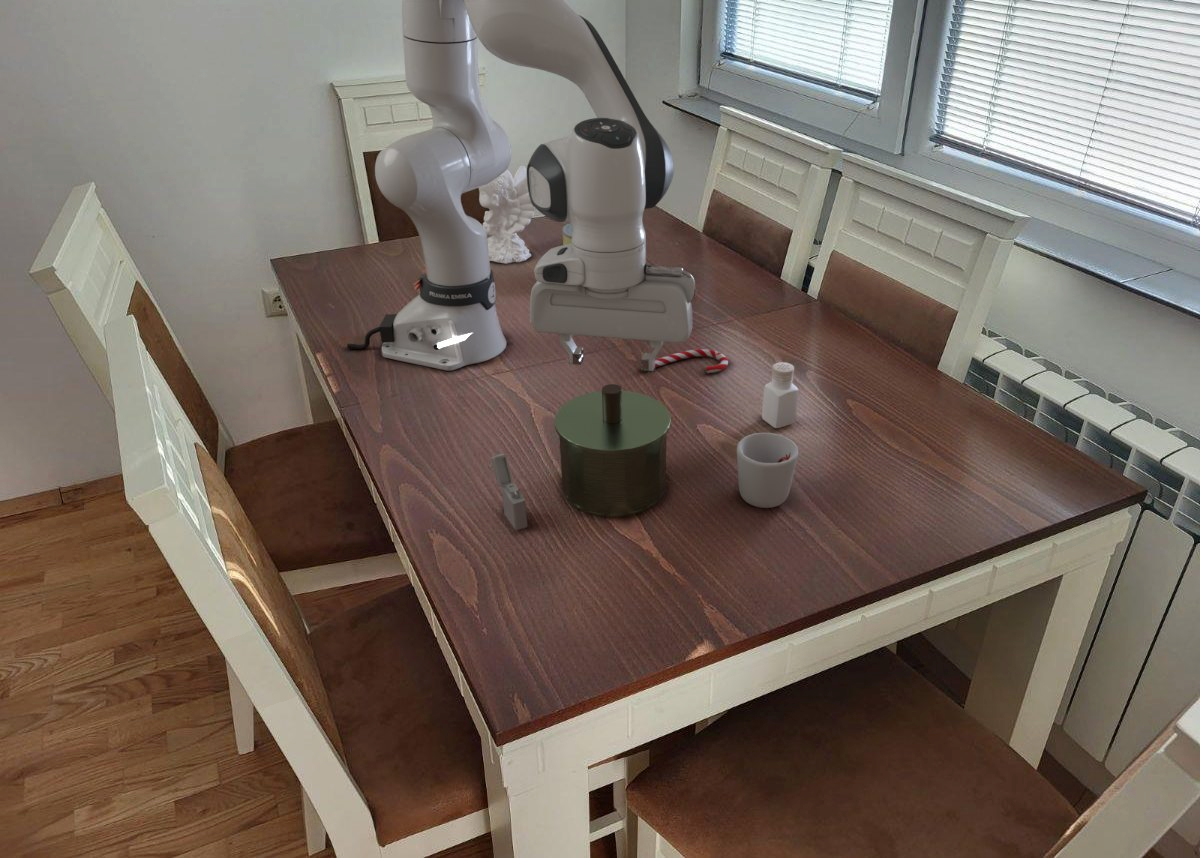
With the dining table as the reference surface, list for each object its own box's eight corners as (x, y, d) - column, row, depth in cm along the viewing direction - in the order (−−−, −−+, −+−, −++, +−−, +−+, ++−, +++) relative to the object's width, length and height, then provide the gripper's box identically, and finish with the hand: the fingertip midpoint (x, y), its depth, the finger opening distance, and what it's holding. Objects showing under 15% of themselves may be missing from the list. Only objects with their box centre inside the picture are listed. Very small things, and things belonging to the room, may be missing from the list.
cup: (724, 471, 126) (726, 423, 122) (779, 467, 127) (783, 419, 122) (740, 517, 117) (744, 466, 113) (800, 512, 117) (805, 462, 113)
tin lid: (553, 460, 112) (551, 421, 109) (556, 399, 125) (554, 363, 122) (675, 455, 112) (676, 417, 109) (665, 395, 125) (665, 359, 122)
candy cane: (636, 356, 154) (717, 344, 157) (636, 363, 155) (717, 351, 158) (649, 376, 148) (734, 364, 151) (649, 383, 148) (733, 371, 151)
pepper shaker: (775, 430, 135) (780, 375, 130) (759, 418, 138) (764, 364, 133) (796, 423, 136) (802, 369, 131) (780, 412, 139) (785, 358, 134)
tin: (562, 519, 117) (558, 453, 112) (563, 459, 130) (560, 397, 124) (669, 515, 118) (670, 449, 112) (660, 456, 130) (661, 394, 124)
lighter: (528, 526, 116) (523, 476, 112) (515, 530, 116) (510, 480, 112) (507, 498, 122) (502, 449, 118) (495, 502, 121) (490, 453, 117)
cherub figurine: (478, 246, 206) (469, 160, 196) (530, 241, 209) (524, 155, 198) (485, 266, 196) (476, 176, 185) (541, 260, 198) (535, 170, 187)
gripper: (699, 258, 107) (696, 361, 114) (536, 249, 111) (544, 348, 118) (691, 278, 101) (688, 384, 109) (521, 267, 106) (529, 370, 113)
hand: (612, 365), depth 114 cm, fingers open, 8 cm apart
